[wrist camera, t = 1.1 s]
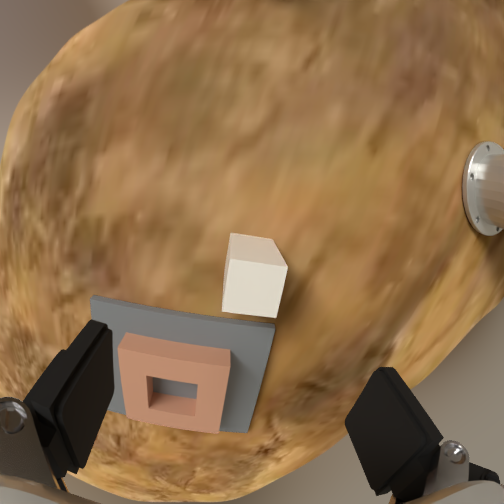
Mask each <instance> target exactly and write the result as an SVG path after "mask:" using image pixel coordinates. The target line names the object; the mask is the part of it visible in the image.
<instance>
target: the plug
mask: <svg viewBox="0 0 504 504" xmlns="http://www.w3.org/2000/svg"><path fill="white" fill-rule="evenodd" d="M287 269H288V266H287V264H286V263H285V261H284V259H283V257H282V255H281V254H280V252H279V250H278V248H277V246H276V245H275V243H274V241H273V239H268V238H262V237H256V236H249V235H243V234H236V233H230V239H229V246H228V252H227V258H226V265H225V272H224V285H223V300H222V311H223V312H231V313H239V314H247V315H255V316H264V317H273V318H276V317H277V313H278V308H279V304H280V300H281V296H282V291H283V287H284V282H285V278H286V274H287Z"/></svg>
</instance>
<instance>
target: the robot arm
mask: <svg viewBox="0 0 504 504" xmlns="http://www.w3.org/2000/svg"><path fill="white" fill-rule="evenodd" d="M462 188H463V201H464V207H465V211H466V215H467V217H468V219H469V222H470V223H471V225H472V227H473V228H474V229H475V230H476V231H477V232H479V233H481V234H484V235H487V236H493V235H496V234H497V233H499V232H500V231H501V230H502V229H504V149H503V148H502V147H501V146H500V145H498V144H496V143H494V142H481V143H479V144H477V145H476V146H475V147H474V148H473V150H472V151H471V152H470V154H469V156H468V158H467V161H466V165H465V168H464V174H463V185H462ZM114 389H115V385H114V367H113V332H112V330H111V329H108V325H107V324H106V323H102V322H99V321H96V320H93V319H92V320H90V321H89V322H88V323H87V324H86V326H85V327H84V328H83V329H82V331H81V332H80V333H79V334H78V336H77V337H76V338H75V339H74V341H73V342H72V343H71V345H70V346H69V347H68V349H67V350H64V349H63V350H61V351H60V352H59V353H58V354H57V355H56V357H55V358H54V359H53V360H52V362H51V363H50V364H49V366H48V367H47V368H46V370H45V371H44V372H43V374H42V375H41V376H40V378H39V379H38V380H37V382H36V383H35V385H34V386H33V387H32V389H31V390H30V392H29V393H28V395H27V396H26V397H25V399H24V400H23V402H22V401H20V400H19V399H16V398H13V397H3V398H0V504H100V503H97V502H94V501H92V500H88V499H85V498H82V497H79V496H77V495H74V494H71V493H69V491H68V489H67V487H66V484H65V482H64V480H63V478H62V477H65V475H66V473H67V470H68V471H70V472H72V473H75V474H77V472H78V469H79V468H82V469H83V468H84V467H85V465H86V463H87V460H88V457H89V454H90V452H91V449H92V447H93V444H94V441H95V439H96V436H97V434H98V431H99V429H100V426H101V424H102V421H103V419H104V416H105V414H106V411H107V409H108V407H109V404H110V402H111V400H112V397H113V394H114ZM345 426H346V429H347V431H348V433H349V436H350V438H351V441H352V443H353V446H354V448H355V450H356V453H357V455H358V458H359V460H360V463H361V465H362V468H363V470H364V472H365V475H366V477H367V480H368V482H369V485H370V487H371V489H373V490H374V491H375V493H376V496H378V495H382V494H386V493H388V492H390V491H391V490H392V493H393V494H392V496H391V499H390V502H389V504H504V485H502V484H501V485H500V480H499V476H498V475H497V473H495V472H493V471H491V470H489V469H486V468H483V467H481V466H478V465H475V464H473V463H470V462H469V454H468V452H467V450H466V448H465V447H464V446H463V445H462V444H460V443H458V442H456V441H452V440H449V441H446V442H444V443H443V444H442V445H441V446H439V442H440V441H441V440H442V439H443V436H442V435H441V433H440V432H439V430H438V429H437V427H436V426H435V425H434V423H433V421H432V420H431V419H430V417H429V416H428V414H427V413H426V412H425V410H424V409H423V407H422V406H421V404H420V403H419V401H418V400H417V399H416V397H415V396H414V395H413V393H412V392H411V390H410V389H409V388H408V386H407V385H406V383H405V382H404V381H403V379H402V378H401V377H400V375H399V374H398V372H397V371H396V370H395V369H394V368H393V367H379V368H378V369H377V370H376V371H374V372H373V374H372V375H371V377H370V379H369V381H368V383H367V384H366V386H365V388H364V389H363V391H362V393H361V394H360V396H359V398H358V399H357V401H356V403H355V404H354V406H353V407H352V409H351V411H350V412H349V414H348V415H347V417H346V419H345Z"/></svg>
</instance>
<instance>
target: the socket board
mask: <svg viewBox="0 0 504 504" xmlns="http://www.w3.org/2000/svg"><path fill="white" fill-rule="evenodd" d="M90 304H91V316H92V319H93V320H96V321H99V322H102V323H106V324H107V325H108V329H111V330H112V332H113V367H114V385H115V389H114V394H113V397H112V400H111V402H110V404H109V407H108V409H107V410H109V411H113V412H117V413H121V414H125V415H127V418H129V419H133V420H137V421H142V422H146V423H151V424H156V425H161V426H166V427H172V428H178V429H185V430H191V431H199V432H207V433H216V434H218V433H219V431H226V432H239V433H247V432H248V429H249V425H250V422H251V418H252V415H253V411H254V408H255V404H256V401H257V397H258V394H259V390H260V386H261V383H262V379H263V375H264V371H265V368H266V364H267V360H268V356H269V352H270V349H271V345H272V341H273V337H274V333H275V325H274V324H271V323H262V322H253V321H244V320H236V319H228V318H221V317H214V316H207V315H200V314H193V313H187V312H181V311H174V310H168V309H163V308H157V307H151V306H146V305H140V304H135V303H130V302H125V301H120V300H115V299H110V298H106V297H101V296H96V295H93V296H92V297H91V298H90Z"/></svg>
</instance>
